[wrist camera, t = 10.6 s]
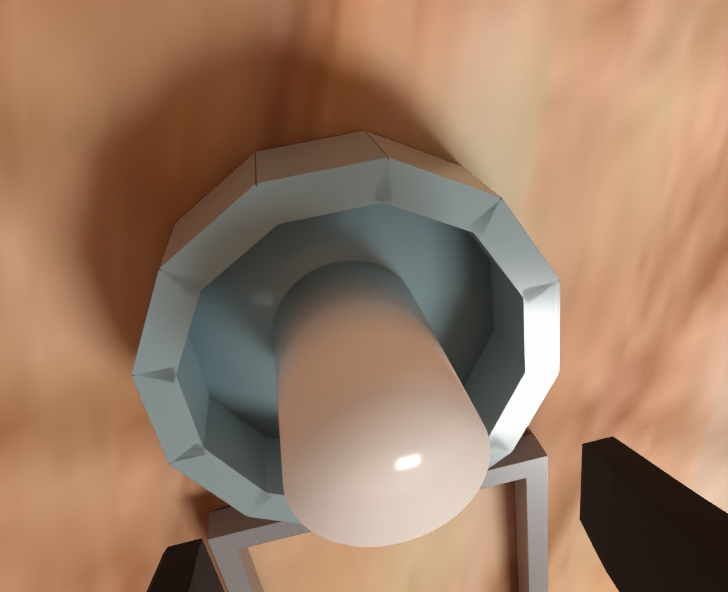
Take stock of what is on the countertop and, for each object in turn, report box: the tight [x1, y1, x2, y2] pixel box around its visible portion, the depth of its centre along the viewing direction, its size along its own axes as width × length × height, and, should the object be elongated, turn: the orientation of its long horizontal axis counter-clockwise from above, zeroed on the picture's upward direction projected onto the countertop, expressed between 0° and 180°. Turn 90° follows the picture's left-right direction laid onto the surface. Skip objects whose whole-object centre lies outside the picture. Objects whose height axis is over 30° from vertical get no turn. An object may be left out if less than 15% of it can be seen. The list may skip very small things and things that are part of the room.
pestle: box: [273, 261, 490, 547], centre depth 15 cm, size 4×4×6 cm
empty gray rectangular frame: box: [207, 434, 548, 592], centre depth 23 cm, size 12×12×1 cm
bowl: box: [132, 131, 560, 524], centre depth 17 cm, size 11×11×3 cm
